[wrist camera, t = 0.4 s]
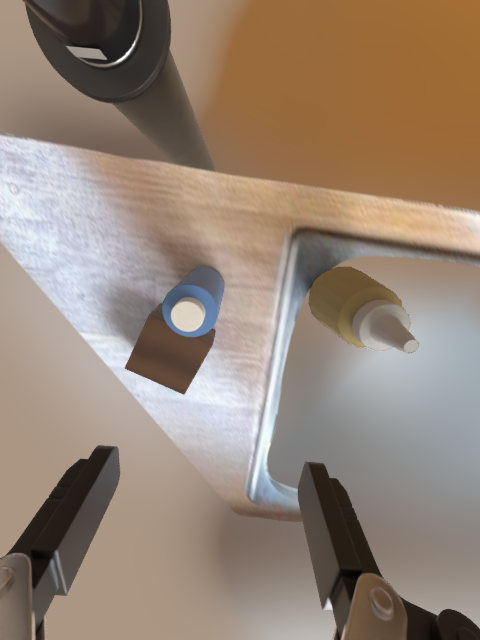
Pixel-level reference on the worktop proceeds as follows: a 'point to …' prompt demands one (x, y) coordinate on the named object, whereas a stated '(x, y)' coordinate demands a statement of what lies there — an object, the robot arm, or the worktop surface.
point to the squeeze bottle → (361, 310)
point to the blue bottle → (194, 302)
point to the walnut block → (168, 353)
